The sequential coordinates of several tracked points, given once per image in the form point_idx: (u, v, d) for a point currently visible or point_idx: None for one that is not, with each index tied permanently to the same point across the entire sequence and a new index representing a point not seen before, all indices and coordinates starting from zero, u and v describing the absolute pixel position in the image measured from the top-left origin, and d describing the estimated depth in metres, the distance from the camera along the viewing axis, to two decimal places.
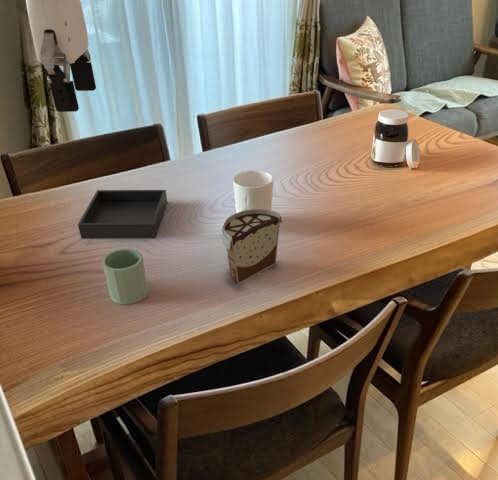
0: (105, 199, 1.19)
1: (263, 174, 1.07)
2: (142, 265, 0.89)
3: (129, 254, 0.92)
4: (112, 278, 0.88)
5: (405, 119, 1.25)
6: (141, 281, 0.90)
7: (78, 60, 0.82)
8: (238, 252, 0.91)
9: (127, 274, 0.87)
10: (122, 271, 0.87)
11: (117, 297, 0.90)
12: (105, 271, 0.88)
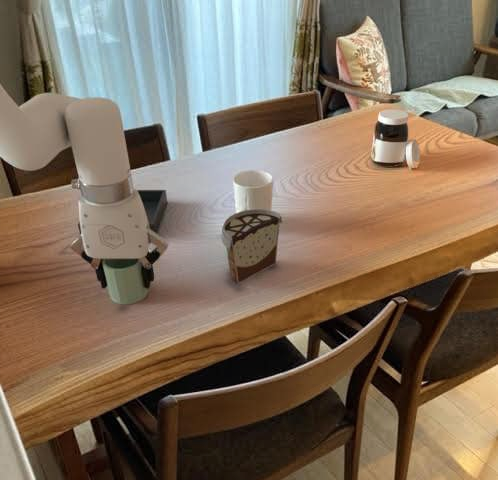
0: None
1: (263, 174, 1.07)
2: (142, 265, 0.89)
3: None
4: (112, 278, 0.88)
5: (405, 119, 1.25)
6: (141, 281, 0.90)
7: (101, 261, 0.89)
8: (238, 252, 0.91)
9: (127, 274, 0.87)
10: (122, 271, 0.87)
11: (117, 297, 0.90)
12: (105, 271, 0.88)
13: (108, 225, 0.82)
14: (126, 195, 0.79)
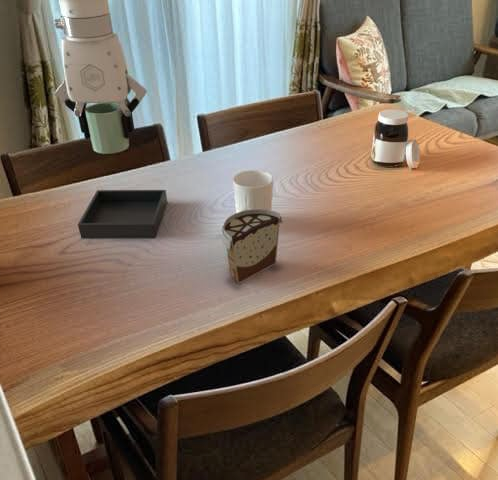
0: (105, 199, 1.19)
1: (263, 174, 1.07)
2: (122, 114, 0.95)
3: (111, 107, 0.98)
4: (94, 124, 0.94)
5: (405, 119, 1.25)
6: (121, 130, 0.96)
7: (84, 110, 0.95)
8: (238, 252, 0.91)
9: (108, 120, 0.93)
10: (103, 116, 0.93)
11: (99, 146, 0.96)
12: (87, 118, 0.94)
13: (89, 65, 0.88)
14: (105, 32, 0.86)
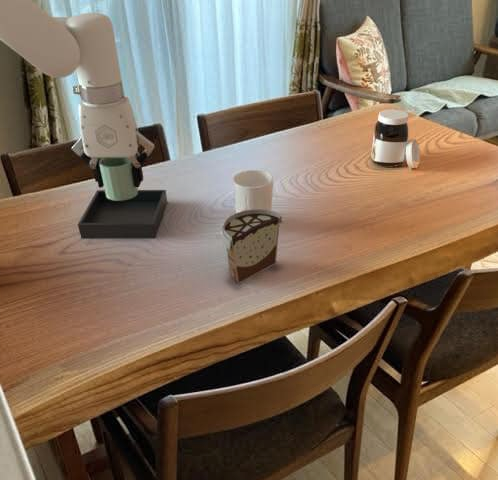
0: (105, 199, 1.19)
1: (263, 174, 1.07)
2: (132, 166, 1.06)
3: (122, 158, 1.08)
4: (107, 175, 1.04)
5: (405, 119, 1.25)
6: (132, 180, 1.06)
7: (98, 163, 1.06)
8: (238, 252, 0.91)
9: (120, 172, 1.04)
10: (116, 169, 1.03)
11: (112, 194, 1.07)
12: (101, 170, 1.05)
13: (103, 126, 0.98)
14: (118, 98, 0.96)
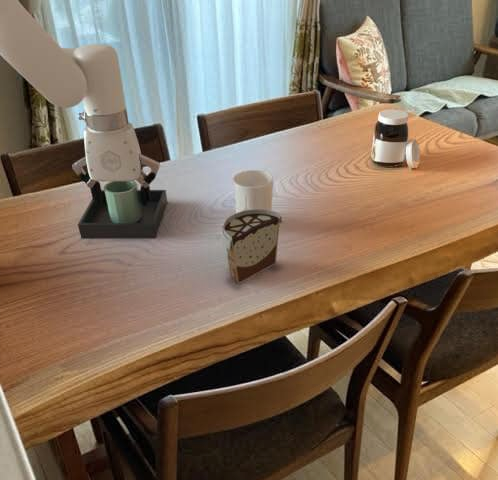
0: (105, 199, 1.19)
1: (263, 174, 1.07)
2: (136, 191, 1.09)
3: (126, 183, 1.12)
4: (112, 201, 1.08)
5: (405, 119, 1.25)
6: (136, 205, 1.10)
7: (96, 183, 1.08)
8: (238, 252, 0.91)
9: (124, 197, 1.07)
10: (120, 194, 1.07)
11: (116, 218, 1.10)
12: (106, 195, 1.08)
13: (108, 151, 1.01)
14: (122, 125, 0.99)
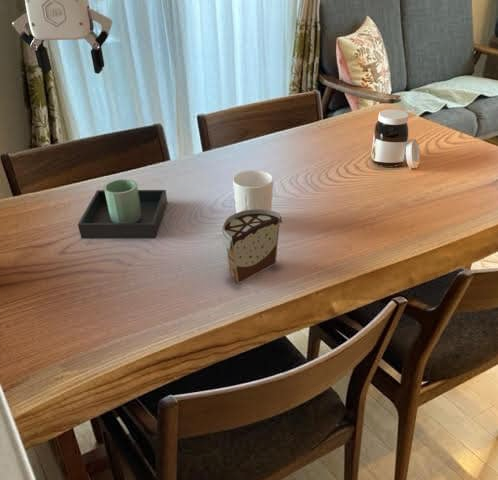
0: (105, 199, 1.19)
1: (263, 174, 1.07)
2: (136, 191, 1.09)
3: (126, 183, 1.12)
4: (112, 201, 1.08)
5: (405, 119, 1.25)
6: (136, 205, 1.10)
7: (41, 46, 0.96)
8: (238, 252, 0.91)
9: (124, 197, 1.07)
10: (120, 194, 1.07)
11: (116, 218, 1.10)
12: (106, 195, 1.08)
13: None
14: None
